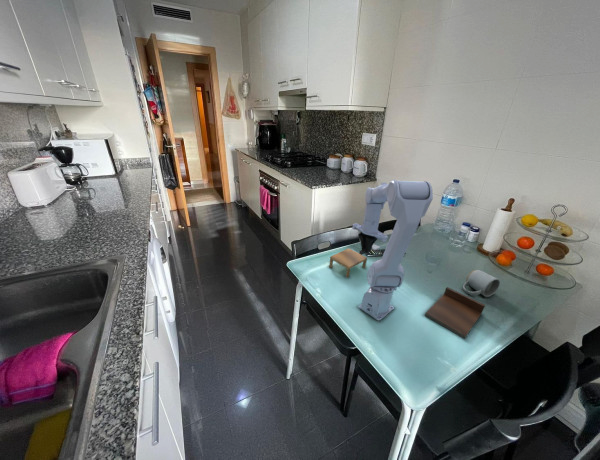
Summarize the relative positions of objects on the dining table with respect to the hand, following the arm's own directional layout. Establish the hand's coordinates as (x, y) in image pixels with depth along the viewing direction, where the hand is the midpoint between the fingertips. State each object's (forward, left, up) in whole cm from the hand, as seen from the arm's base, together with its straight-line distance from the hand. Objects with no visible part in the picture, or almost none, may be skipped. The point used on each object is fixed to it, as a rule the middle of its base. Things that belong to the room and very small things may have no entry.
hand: (365, 250), depth 99 cm
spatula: (+2, 0, 0) cm, 2 cm away
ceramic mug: (+25, -35, -10) cm, 44 cm away
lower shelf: (+4, -34, -10) cm, 36 cm away
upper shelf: (-2, +6, -10) cm, 12 cm away
